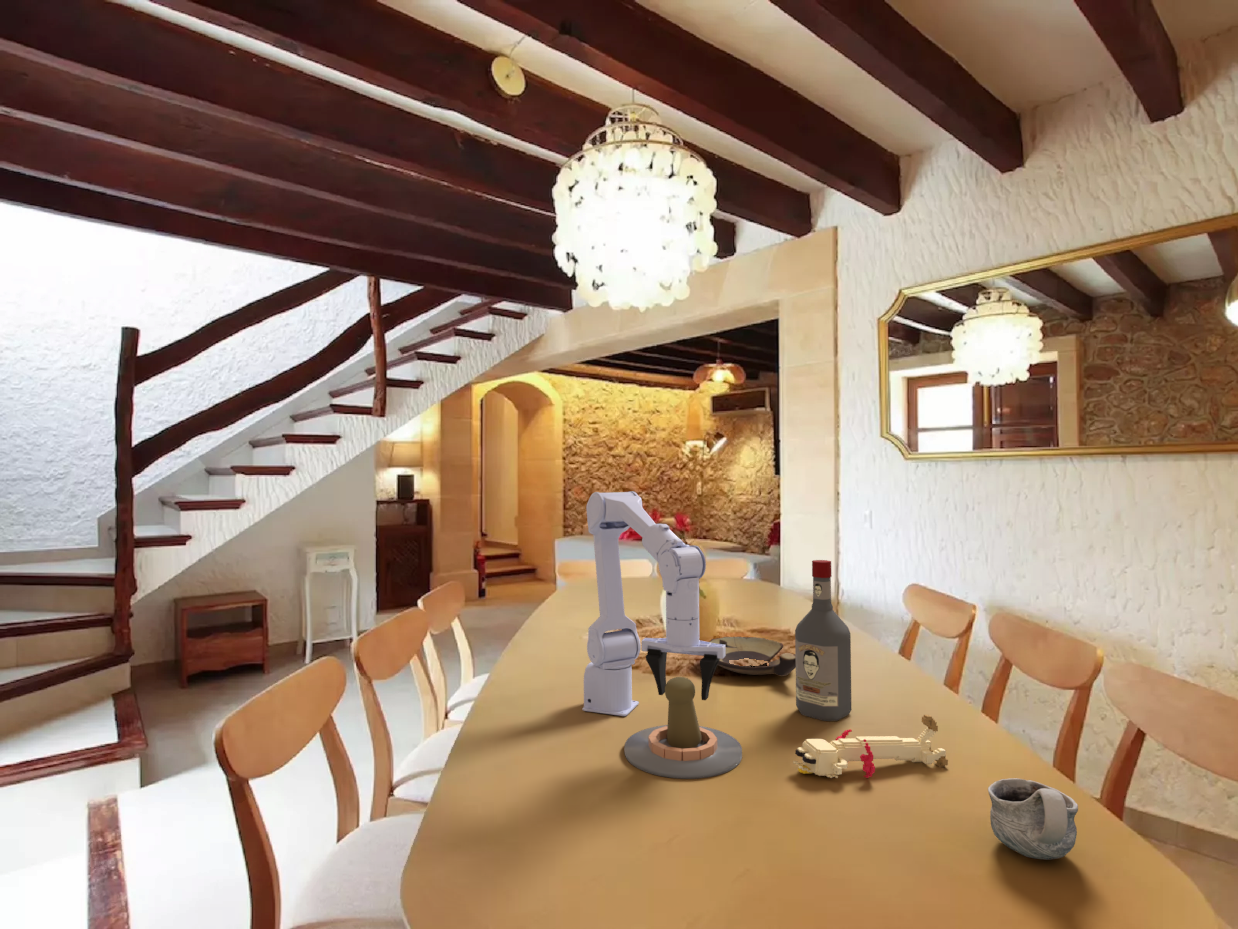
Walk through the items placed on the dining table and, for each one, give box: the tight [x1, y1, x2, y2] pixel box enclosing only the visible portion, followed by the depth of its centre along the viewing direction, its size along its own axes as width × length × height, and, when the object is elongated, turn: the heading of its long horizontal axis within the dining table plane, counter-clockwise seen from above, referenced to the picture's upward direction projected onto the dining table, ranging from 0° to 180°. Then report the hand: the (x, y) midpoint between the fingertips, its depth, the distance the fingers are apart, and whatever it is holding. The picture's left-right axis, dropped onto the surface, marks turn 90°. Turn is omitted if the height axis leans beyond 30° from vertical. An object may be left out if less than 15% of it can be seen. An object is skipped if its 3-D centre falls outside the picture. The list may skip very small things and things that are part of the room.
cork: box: [664, 676, 702, 749], centre depth 116 cm, size 6×6×11 cm
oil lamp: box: [708, 636, 796, 677], centre depth 161 cm, size 22×30×8 cm
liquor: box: [794, 559, 853, 722], centre depth 134 cm, size 9×9×30 cm
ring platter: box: [624, 724, 743, 780], centre depth 115 cm, size 20×20×2 cm
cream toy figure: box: [792, 714, 949, 779], centre depth 109 cm, size 10×9×25 cm
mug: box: [987, 777, 1079, 861], centre depth 83 cm, size 10×12×10 cm
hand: (683, 695), depth 116 cm, fingers open, 7 cm apart
